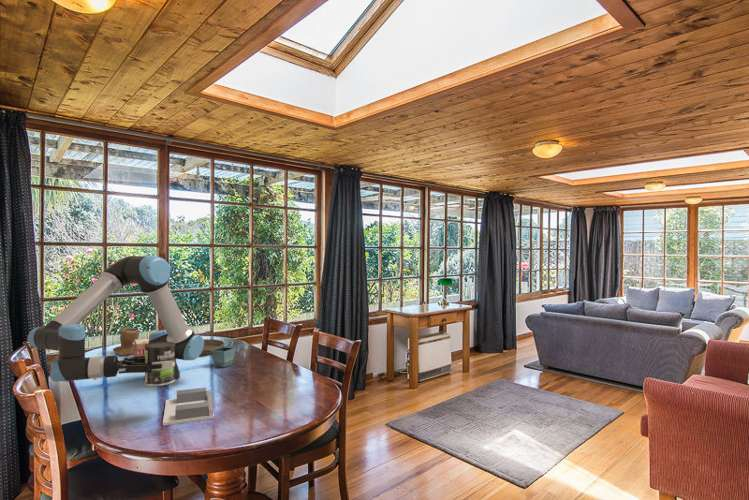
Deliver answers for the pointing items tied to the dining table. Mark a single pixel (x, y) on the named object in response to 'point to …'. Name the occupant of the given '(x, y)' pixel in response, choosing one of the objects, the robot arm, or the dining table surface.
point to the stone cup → (127, 341)
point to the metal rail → (209, 403)
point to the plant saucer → (211, 346)
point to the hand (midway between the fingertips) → (172, 360)
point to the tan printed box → (139, 347)
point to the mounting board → (170, 413)
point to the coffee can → (159, 354)
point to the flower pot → (223, 356)
